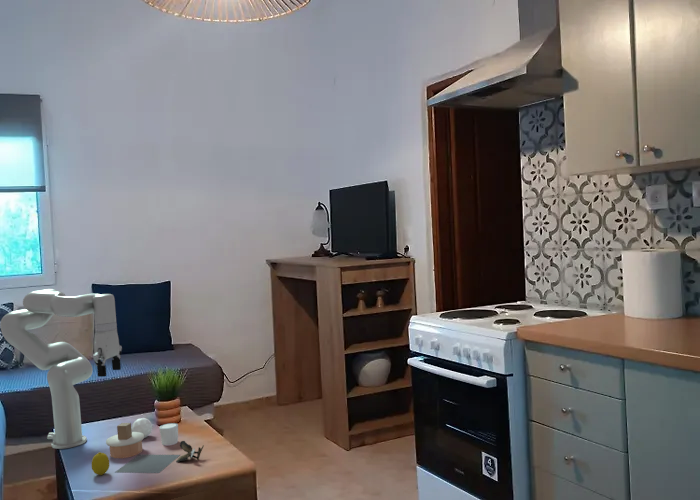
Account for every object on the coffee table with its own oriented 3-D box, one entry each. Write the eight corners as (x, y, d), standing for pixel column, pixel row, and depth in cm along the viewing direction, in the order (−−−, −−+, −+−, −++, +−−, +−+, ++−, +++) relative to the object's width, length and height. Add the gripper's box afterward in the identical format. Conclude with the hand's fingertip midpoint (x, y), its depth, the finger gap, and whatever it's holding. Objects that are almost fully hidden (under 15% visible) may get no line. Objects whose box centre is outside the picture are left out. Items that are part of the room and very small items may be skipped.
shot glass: (182, 440, 242) (180, 422, 242) (175, 447, 235) (174, 428, 235) (164, 441, 243) (163, 423, 242) (157, 447, 236) (156, 429, 236)
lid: (98, 446, 226) (97, 430, 226) (118, 434, 239) (117, 418, 239) (132, 446, 224) (131, 430, 223) (150, 434, 237) (149, 418, 236)
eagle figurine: (205, 452, 225) (181, 447, 226) (203, 439, 221) (178, 435, 222) (197, 470, 219) (172, 466, 220) (194, 458, 215) (169, 453, 216)
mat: (114, 473, 213) (114, 472, 213) (139, 455, 228) (138, 454, 228) (159, 474, 210) (158, 472, 210) (180, 456, 225) (180, 454, 225)
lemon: (95, 473, 214) (93, 450, 214) (112, 471, 215) (110, 448, 214) (90, 480, 209) (88, 456, 208) (107, 478, 209) (105, 454, 209)
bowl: (104, 459, 227) (103, 445, 227) (120, 448, 238) (119, 434, 238) (132, 459, 225) (131, 445, 225) (148, 448, 236) (147, 435, 236)
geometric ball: (139, 443, 250) (137, 424, 254) (157, 435, 249) (154, 416, 253) (128, 440, 244) (125, 420, 248) (146, 432, 243) (143, 412, 247)
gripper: (109, 323, 246) (113, 367, 247) (83, 332, 229) (86, 379, 230) (127, 323, 245) (130, 367, 245) (102, 331, 228) (105, 378, 228)
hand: (109, 373), depth 238 cm, fingers open, 9 cm apart
